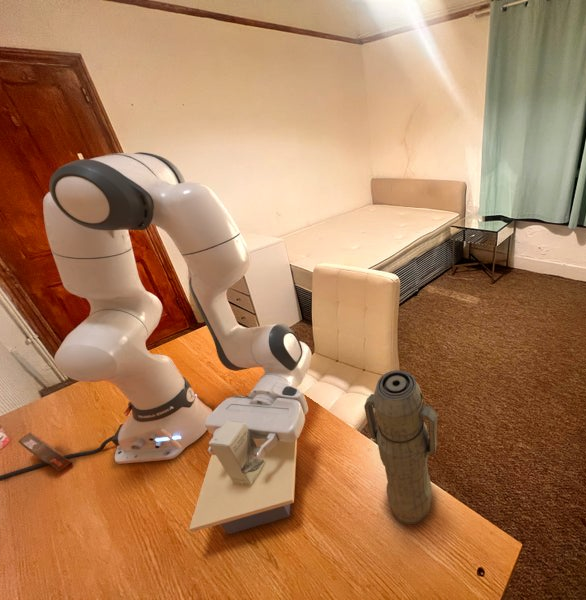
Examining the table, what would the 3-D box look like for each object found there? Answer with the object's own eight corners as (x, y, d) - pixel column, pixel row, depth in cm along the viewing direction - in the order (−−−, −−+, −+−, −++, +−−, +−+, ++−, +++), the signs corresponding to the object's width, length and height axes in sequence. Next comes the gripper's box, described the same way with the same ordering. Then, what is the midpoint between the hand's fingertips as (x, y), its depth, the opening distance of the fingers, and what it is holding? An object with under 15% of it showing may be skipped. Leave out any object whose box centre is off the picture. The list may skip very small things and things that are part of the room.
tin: (77, 466, 77) (55, 446, 73) (62, 478, 75) (37, 458, 71) (50, 445, 83) (28, 425, 79) (34, 456, 81) (11, 436, 77)
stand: (209, 551, 60) (188, 529, 55) (228, 471, 73) (213, 448, 68) (304, 522, 63) (292, 499, 58) (305, 451, 76) (296, 427, 71)
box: (251, 486, 60) (227, 447, 54) (232, 483, 61) (205, 444, 55) (266, 460, 65) (245, 421, 58) (248, 457, 66) (225, 419, 59)
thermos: (437, 530, 60) (433, 411, 41) (378, 519, 62) (349, 402, 44) (440, 483, 67) (438, 364, 49) (388, 475, 69) (367, 359, 51)
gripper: (224, 385, 70) (179, 440, 59) (308, 391, 67) (277, 451, 55) (234, 403, 73) (193, 459, 62) (315, 410, 70) (287, 470, 58)
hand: (233, 455), depth 58 cm, fingers open, 8 cm apart
